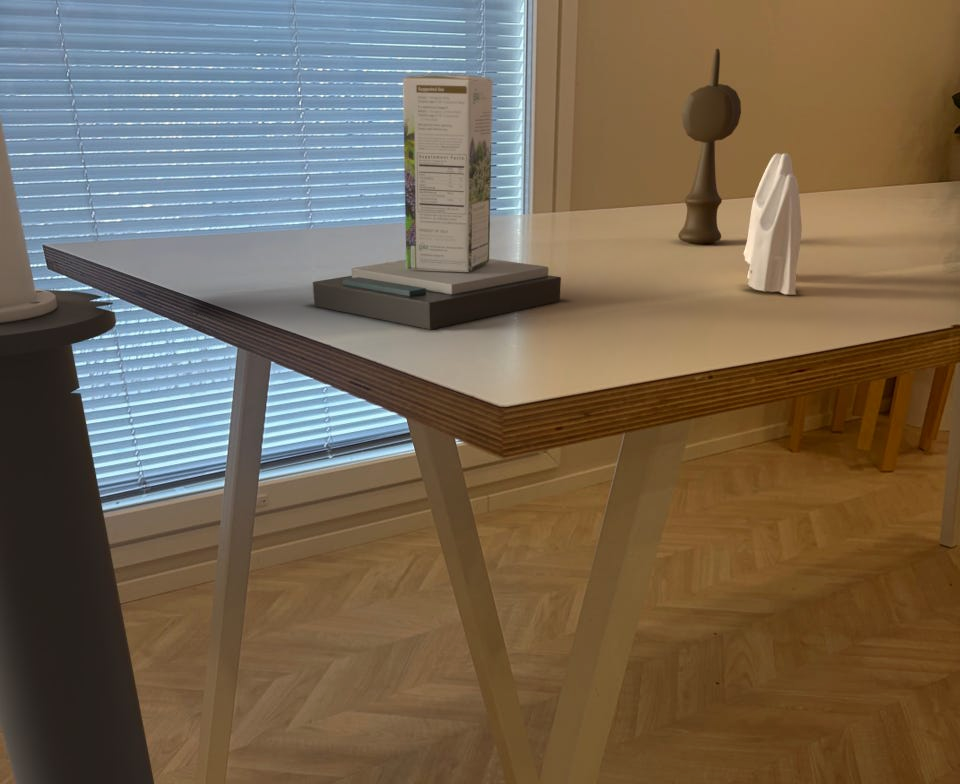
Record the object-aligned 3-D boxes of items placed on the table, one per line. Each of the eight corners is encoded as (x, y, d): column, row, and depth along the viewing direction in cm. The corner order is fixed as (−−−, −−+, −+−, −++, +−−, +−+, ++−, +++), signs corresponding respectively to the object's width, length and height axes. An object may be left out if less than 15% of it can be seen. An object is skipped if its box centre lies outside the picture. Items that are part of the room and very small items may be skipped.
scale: (430, 329, 79) (429, 291, 78) (314, 306, 87) (311, 271, 86) (560, 300, 89) (561, 267, 88) (445, 282, 98) (445, 251, 96)
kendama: (728, 238, 125) (748, 49, 116) (721, 249, 117) (742, 46, 107) (678, 236, 127) (694, 49, 117) (668, 247, 118) (684, 47, 109)
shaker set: (740, 272, 102) (754, 150, 97) (783, 273, 102) (800, 150, 97) (749, 294, 92) (765, 158, 87) (797, 295, 91) (816, 158, 86)
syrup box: (429, 260, 91) (424, 74, 84) (492, 264, 90) (493, 74, 83) (405, 270, 86) (398, 74, 80) (471, 274, 85) (471, 74, 78)
